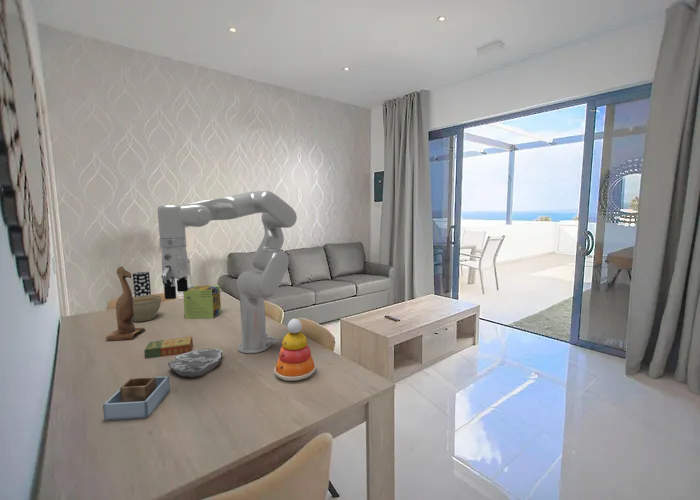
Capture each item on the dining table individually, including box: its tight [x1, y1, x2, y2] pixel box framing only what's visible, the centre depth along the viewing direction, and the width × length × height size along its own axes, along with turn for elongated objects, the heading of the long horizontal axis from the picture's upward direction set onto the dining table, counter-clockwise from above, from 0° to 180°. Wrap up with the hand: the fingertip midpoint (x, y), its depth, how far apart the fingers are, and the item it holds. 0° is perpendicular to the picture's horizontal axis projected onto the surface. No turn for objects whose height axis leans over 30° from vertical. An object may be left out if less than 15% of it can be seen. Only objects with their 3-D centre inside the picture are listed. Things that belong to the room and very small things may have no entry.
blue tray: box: [102, 375, 171, 421], centre depth 99 cm, size 11×14×4 cm
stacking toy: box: [273, 318, 317, 382], centre depth 116 cm, size 14×14×20 cm
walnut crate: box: [119, 376, 156, 403], centre depth 99 cm, size 7×6×6 cm
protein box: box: [182, 284, 222, 320], centre depth 181 cm, size 10×15×16 cm
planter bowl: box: [132, 294, 162, 322], centre depth 177 cm, size 16×16×11 cm
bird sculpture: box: [105, 265, 146, 342], centre depth 151 cm, size 11×12×32 cm
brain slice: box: [167, 348, 224, 378], centre depth 122 cm, size 20×17×3 cm
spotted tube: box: [132, 271, 152, 297], centre depth 199 cm, size 8×8×20 cm
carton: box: [143, 336, 194, 359], centre depth 136 cm, size 8×16×4 cm, turn 109°
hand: (176, 294), depth 112 cm, fingers open, 9 cm apart
